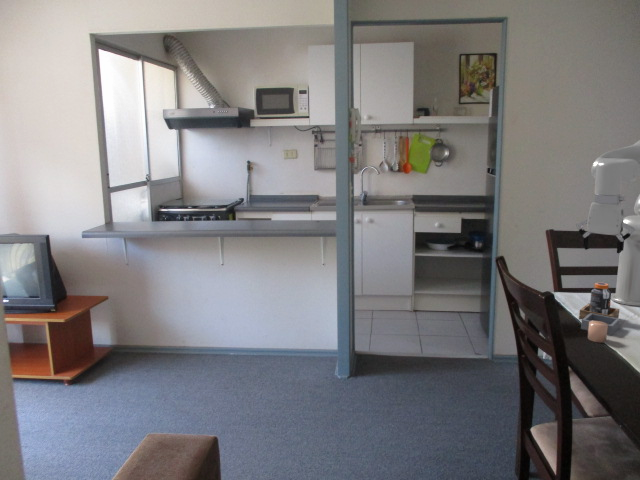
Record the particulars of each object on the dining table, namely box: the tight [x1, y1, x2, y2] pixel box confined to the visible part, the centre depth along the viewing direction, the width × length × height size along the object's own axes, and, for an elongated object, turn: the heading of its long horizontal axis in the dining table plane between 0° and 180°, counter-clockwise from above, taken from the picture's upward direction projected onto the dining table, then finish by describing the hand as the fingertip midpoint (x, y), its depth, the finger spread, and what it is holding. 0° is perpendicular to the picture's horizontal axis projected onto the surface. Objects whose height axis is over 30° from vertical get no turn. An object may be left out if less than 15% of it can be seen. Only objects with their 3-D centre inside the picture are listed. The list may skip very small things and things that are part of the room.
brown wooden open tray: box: [578, 302, 620, 320], centre depth 181 cm, size 10×10×3 cm
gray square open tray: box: [580, 313, 621, 336], centre depth 172 cm, size 9×9×3 cm
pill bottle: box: [589, 282, 612, 315], centre depth 180 cm, size 6×6×11 cm
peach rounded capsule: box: [587, 321, 608, 343], centre depth 163 cm, size 5×5×5 cm
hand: (602, 250), depth 179 cm, fingers open, 9 cm apart
